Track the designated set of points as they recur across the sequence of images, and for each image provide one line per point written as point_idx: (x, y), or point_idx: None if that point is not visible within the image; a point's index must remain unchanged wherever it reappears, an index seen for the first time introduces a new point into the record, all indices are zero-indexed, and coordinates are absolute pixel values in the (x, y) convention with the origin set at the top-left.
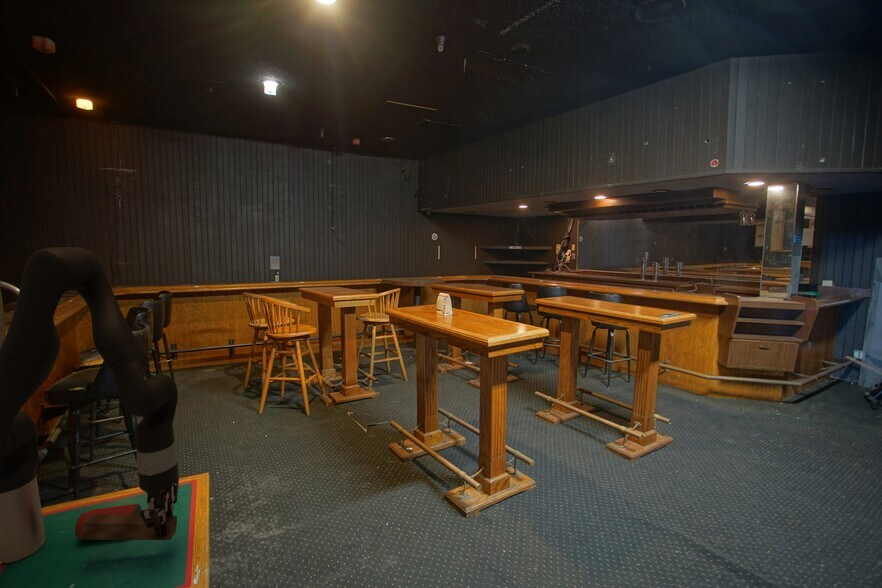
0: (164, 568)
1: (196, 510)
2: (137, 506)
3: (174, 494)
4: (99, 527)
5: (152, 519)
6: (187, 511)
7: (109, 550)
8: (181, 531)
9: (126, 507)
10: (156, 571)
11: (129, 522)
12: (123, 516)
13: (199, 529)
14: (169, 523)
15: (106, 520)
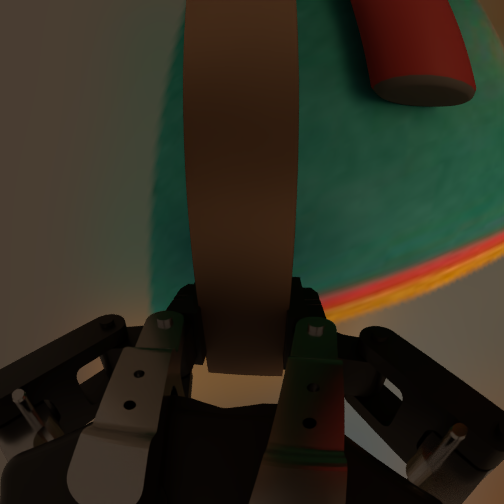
0: (192, 270)
1: (450, 268)
2: (461, 91)
3: (377, 425)
4: None
5: (46, 403)
6: (454, 242)
7: (304, 50)
8: (366, 259)
9: (448, 48)
10: (181, 251)
11: (199, 133)
12: (274, 53)
13: (359, 312)
14: (216, 363)
15: None
